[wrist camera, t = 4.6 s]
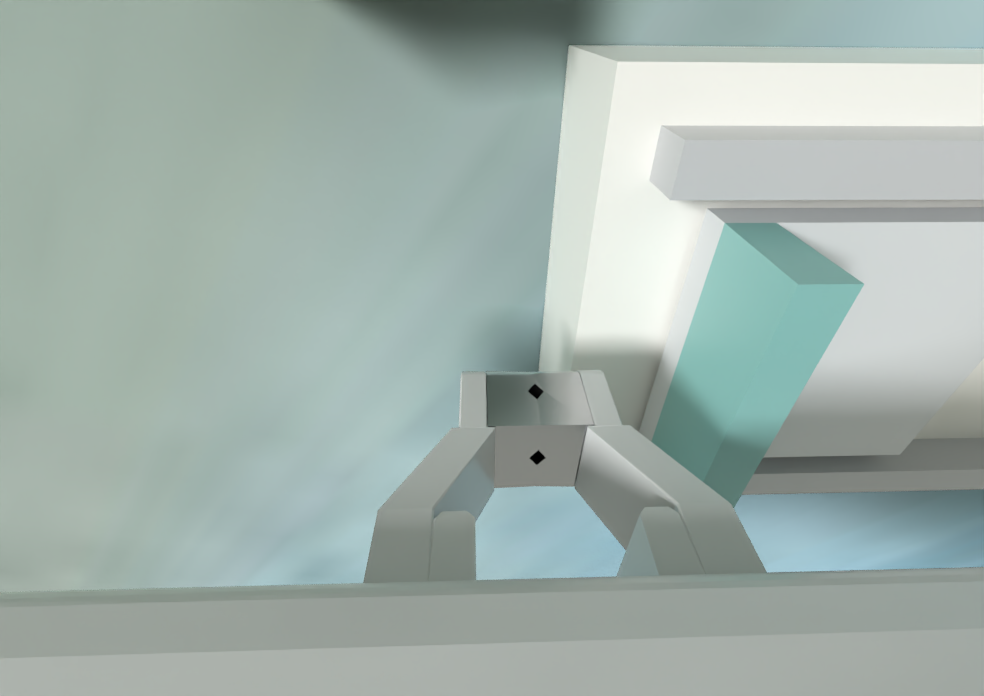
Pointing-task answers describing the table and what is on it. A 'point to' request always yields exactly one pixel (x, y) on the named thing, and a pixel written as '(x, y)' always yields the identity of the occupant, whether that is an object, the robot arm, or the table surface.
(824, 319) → the shutter
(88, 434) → the table surface
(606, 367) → the socket box
